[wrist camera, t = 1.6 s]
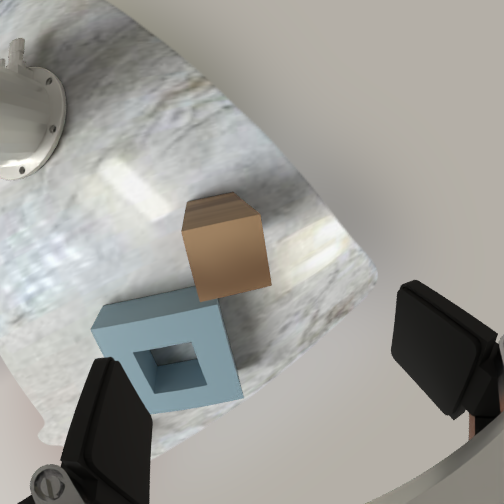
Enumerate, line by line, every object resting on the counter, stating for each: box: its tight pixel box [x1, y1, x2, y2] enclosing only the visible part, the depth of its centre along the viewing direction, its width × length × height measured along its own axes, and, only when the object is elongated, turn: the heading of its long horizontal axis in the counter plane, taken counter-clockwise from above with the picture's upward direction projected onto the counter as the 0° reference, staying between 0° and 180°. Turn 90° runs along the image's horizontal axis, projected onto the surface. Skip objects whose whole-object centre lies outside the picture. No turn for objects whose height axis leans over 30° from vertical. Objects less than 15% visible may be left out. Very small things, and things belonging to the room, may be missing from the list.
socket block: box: [91, 286, 244, 414], centre depth 29 cm, size 13×13×5 cm
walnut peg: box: [181, 192, 272, 302], centre depth 23 cm, size 5×5×12 cm
